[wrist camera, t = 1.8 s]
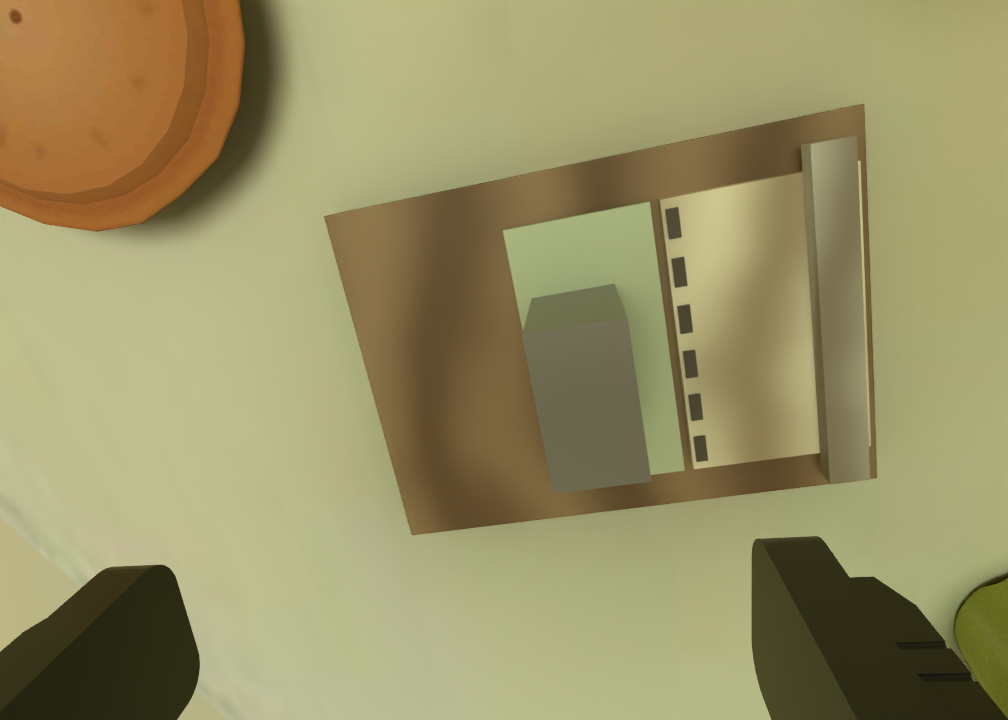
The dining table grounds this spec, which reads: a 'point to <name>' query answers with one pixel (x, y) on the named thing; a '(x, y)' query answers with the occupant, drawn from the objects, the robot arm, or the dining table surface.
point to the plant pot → (987, 639)
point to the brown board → (687, 308)
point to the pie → (113, 104)
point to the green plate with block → (597, 347)
